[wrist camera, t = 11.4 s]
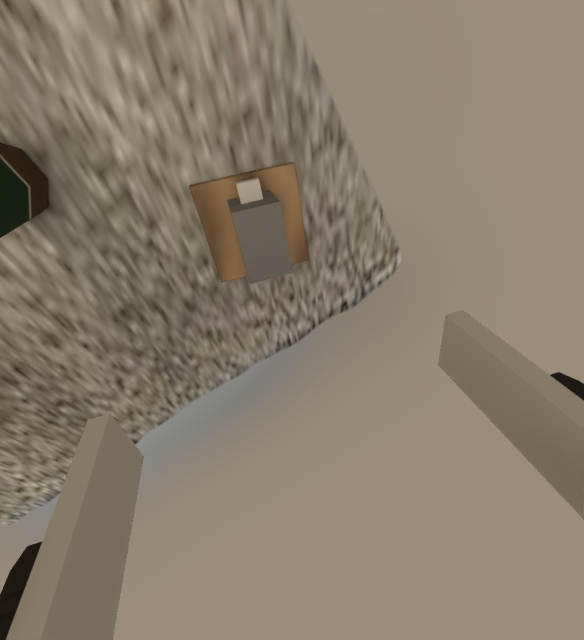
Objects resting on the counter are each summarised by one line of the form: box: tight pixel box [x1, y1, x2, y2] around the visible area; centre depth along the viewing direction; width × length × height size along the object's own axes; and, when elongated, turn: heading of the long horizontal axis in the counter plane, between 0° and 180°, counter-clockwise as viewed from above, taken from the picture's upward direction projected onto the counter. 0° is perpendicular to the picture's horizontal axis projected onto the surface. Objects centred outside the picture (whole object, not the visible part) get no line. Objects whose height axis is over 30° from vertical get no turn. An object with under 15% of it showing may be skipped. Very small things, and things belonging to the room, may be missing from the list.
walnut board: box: [190, 162, 309, 282], centre depth 39 cm, size 12×12×1 cm
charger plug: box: [227, 178, 293, 283], centre depth 35 cm, size 5×10×6 cm, turn 10°
